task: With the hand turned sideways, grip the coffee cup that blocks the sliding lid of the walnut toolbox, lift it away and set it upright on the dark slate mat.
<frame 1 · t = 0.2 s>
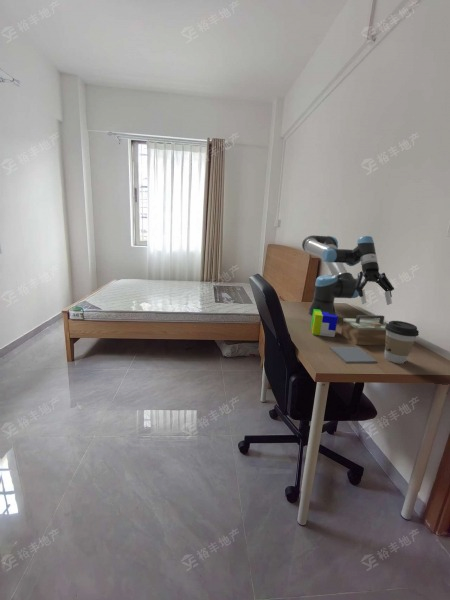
hand: (376, 303, 135), 15 cm above the table, tool tilted 35°, fingers open, 13 cm apart
slate mat: (352, 355, 113), on the table
coffee cup: (394, 359, 111), on the table
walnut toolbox: (366, 338, 130), on the table
puzzle toy: (322, 332, 136), on the table
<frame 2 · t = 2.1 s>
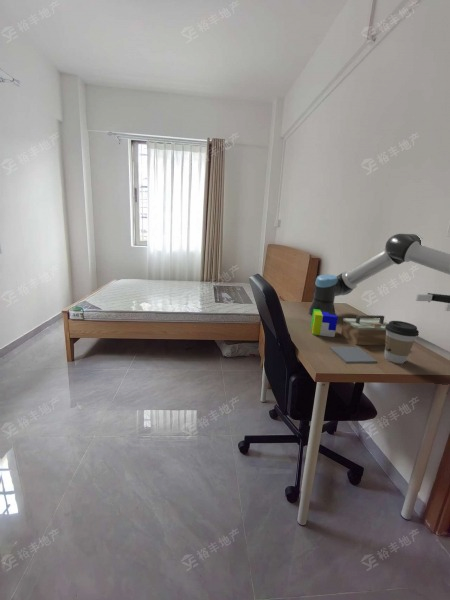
hand: (430, 302, 106), 24 cm above the table, tool horizontal, fingers open, 13 cm apart
nothing on the table moved.
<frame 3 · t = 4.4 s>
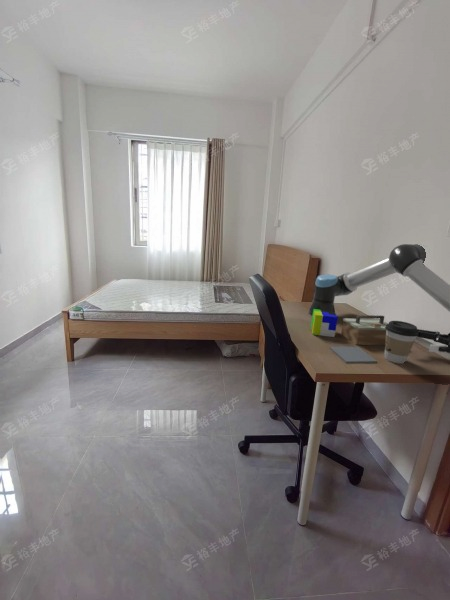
hand: (415, 340, 109), 8 cm above the table, tool horizontal, fingers open, 13 cm apart
nothing on the table moved.
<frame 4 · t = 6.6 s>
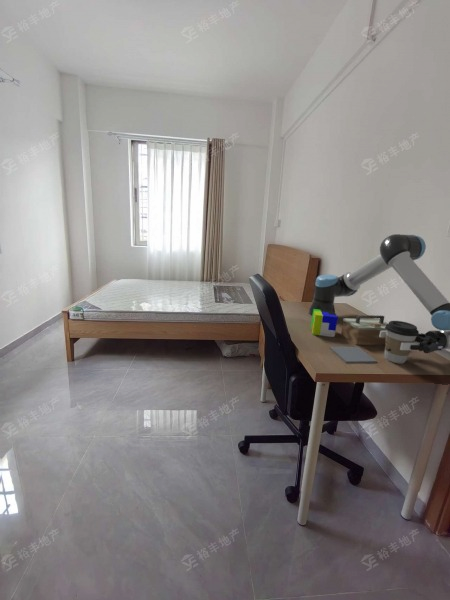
hand: (390, 339, 108), 9 cm above the table, tool horizontal, fingers closed on coffee cup, 11 cm apart
coffee cup: (394, 359, 111), on the table, touching gripper
everything else where it was.
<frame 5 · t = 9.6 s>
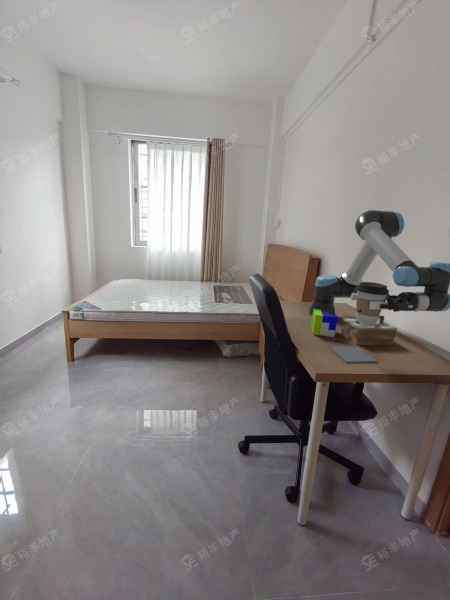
hand: (360, 300, 105), 23 cm above the table, tool horizontal, fingers closed on coffee cup, 11 cm apart
coffee cup: (365, 322, 108), point 15 cm above the table, touching gripper
everything else where it was.
when the fingers open (10 cm above the table, at t = 13.1 s): coffee cup drops 1 cm, resting on slate mat.
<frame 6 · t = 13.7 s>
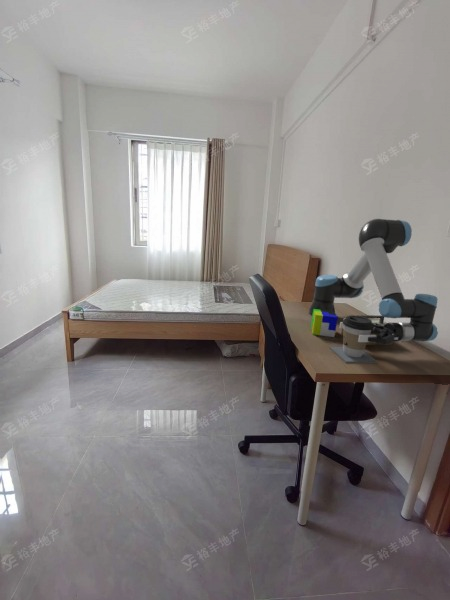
hand: (349, 331, 109), 10 cm above the table, tool horizontal, fingers open, 13 cm apart
coffee cup: (352, 353, 112), resting on slate mat
everything else where it was.
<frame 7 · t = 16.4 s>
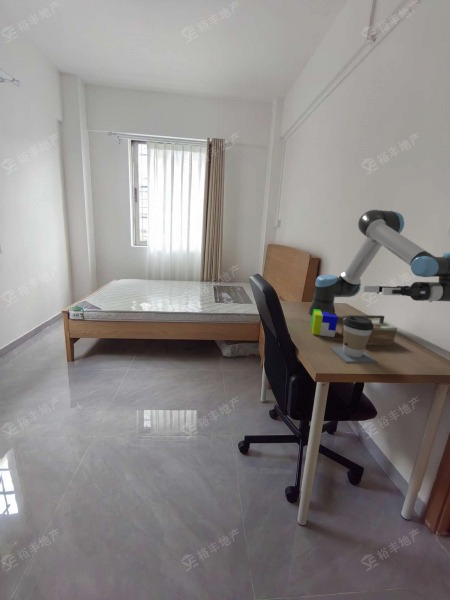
hand: (372, 290, 109), 27 cm above the table, tool horizontal, fingers open, 13 cm apart
nothing on the table moved.
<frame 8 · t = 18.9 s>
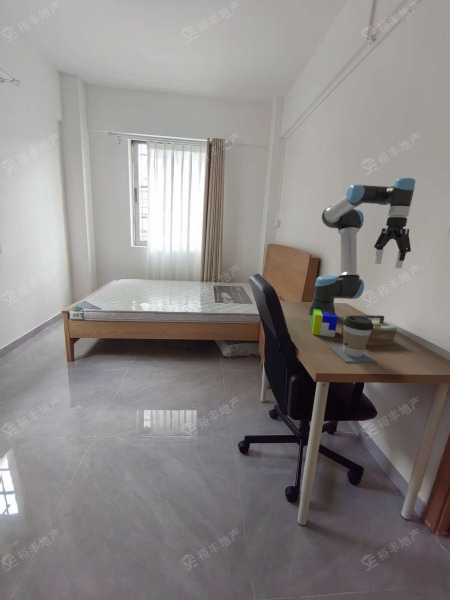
hand: (387, 265, 124), 35 cm above the table, tool pointing down, fingers open, 13 cm apart
nothing on the table moved.
at the end: coffee cup 0.1 cm from the slate mat (horizontally); coffee cup tilted 0°; the gripper is holding nothing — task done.
